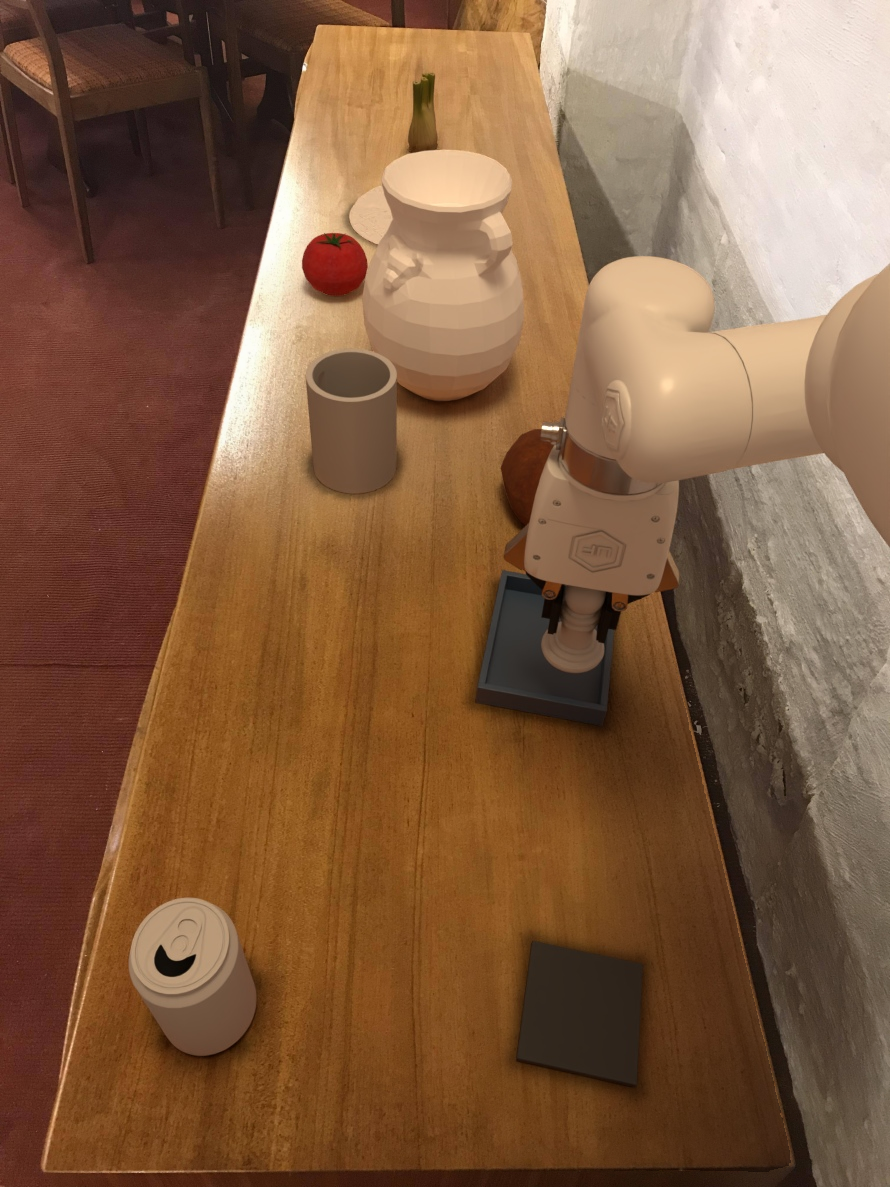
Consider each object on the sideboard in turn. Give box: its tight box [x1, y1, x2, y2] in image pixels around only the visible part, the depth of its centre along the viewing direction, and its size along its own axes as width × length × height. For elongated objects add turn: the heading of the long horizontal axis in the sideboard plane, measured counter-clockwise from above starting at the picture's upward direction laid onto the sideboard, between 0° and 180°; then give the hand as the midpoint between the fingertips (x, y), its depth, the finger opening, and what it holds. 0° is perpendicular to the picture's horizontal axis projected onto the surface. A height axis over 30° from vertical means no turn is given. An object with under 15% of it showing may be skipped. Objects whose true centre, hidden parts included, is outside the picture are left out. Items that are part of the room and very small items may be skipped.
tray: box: [475, 569, 615, 727], centre depth 82 cm, size 14×11×2 cm
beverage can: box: [128, 897, 257, 1057], centre depth 57 cm, size 6×6×12 cm
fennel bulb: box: [407, 72, 439, 153], centre depth 150 cm, size 6×5×12 cm
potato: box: [500, 428, 554, 526], centre depth 94 cm, size 8×12×8 cm, turn 179°
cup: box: [305, 347, 398, 495], centre depth 95 cm, size 9×9×12 cm
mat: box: [515, 940, 644, 1088], centre depth 62 cm, size 8×8×1 cm
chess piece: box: [541, 585, 606, 673], centre depth 73 cm, size 5×5×9 cm
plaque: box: [348, 184, 393, 245], centre depth 138 cm, size 20×20×2 cm
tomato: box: [301, 232, 369, 297], centre depth 120 cm, size 9×9×8 cm
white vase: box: [361, 149, 525, 402], centre depth 101 cm, size 19×18×25 cm
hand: (577, 624), depth 74 cm, fingers closed on chess piece, 3 cm apart
